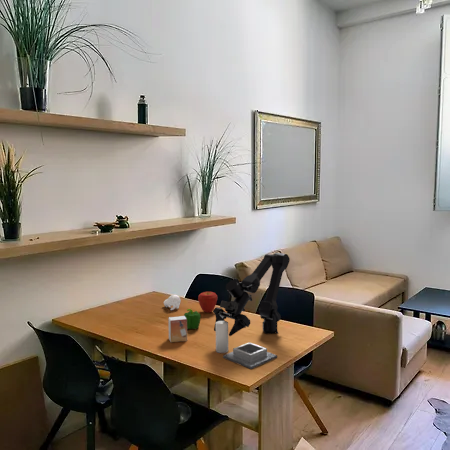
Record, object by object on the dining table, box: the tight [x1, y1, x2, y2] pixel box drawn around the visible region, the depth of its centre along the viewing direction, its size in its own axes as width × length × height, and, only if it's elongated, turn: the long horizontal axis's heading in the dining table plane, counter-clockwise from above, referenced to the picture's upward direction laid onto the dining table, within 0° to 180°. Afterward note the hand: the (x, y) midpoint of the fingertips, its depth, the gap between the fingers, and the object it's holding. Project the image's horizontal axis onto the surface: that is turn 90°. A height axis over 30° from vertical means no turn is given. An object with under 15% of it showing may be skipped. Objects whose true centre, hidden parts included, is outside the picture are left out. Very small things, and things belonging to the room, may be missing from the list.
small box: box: [168, 315, 188, 343], centre depth 204 cm, size 8×6×10 cm
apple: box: [197, 291, 218, 314], centre depth 247 cm, size 11×11×12 cm
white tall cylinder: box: [215, 320, 229, 354], centre depth 190 cm, size 6×6×12 cm
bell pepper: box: [183, 308, 202, 330], centre depth 221 cm, size 8×8×10 cm
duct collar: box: [222, 342, 278, 370], centre depth 183 cm, size 16×16×4 cm
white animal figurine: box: [163, 294, 182, 311], centre depth 255 cm, size 6×8×12 cm
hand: (221, 333), depth 190 cm, fingers open, 9 cm apart
